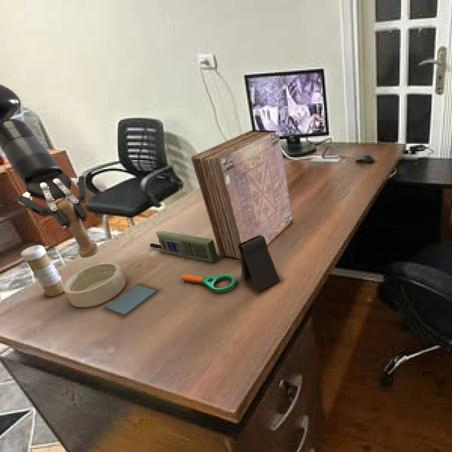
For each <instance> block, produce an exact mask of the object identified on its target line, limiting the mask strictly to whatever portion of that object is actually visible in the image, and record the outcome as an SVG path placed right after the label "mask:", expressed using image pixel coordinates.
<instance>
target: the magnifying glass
mask: <svg viewBox="0 0 452 452" xmlns="http://www.w3.org/2000/svg"><path fill="white" fill-rule="evenodd" d="M227 279H228V280H230V281H231V282H230V284H228V285H227V286H224V287H220V288H218V287H215V286H214V285H215V284H216V283H217V282H219V281H222V280H227ZM181 280H182V281H185V282H190V283H196V284H201V285H204V286H206V288H208V289H209V290H210V291H212V292H213V293H215V294H224V293H227V292H230V291H232V290H233V289H235V287H236V286H237V281H236V280H237V279H236V277H235V276H234V275H232V274H228V273H225V274H216V275H210V276H201V275H196V274H189V273H184V274H183V275H182V276H181Z"/></svg>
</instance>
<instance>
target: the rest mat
mask: <svg viewBox="0 0 452 452" xmlns="http://www.w3.org/2000/svg"><path fill="white" fill-rule="evenodd" d="M156 293H157V290H155V289H152V288H149V287H145V286H143V285H140V284H137V285H136V286H134V287H133V288H131V289H130V290H128V291H126V292H125V293H124V294H122V295H121V296H119V298H117V299H116V300H114V301H113V302H111V303H110V304H108V305H107V306H105V308H106V309H107V310H109V311H113V312H115V313H117V314H121V315H123V316H127V315H128V314H129V313H130V312H132V311H133V310H135V309H137V307H139V306H140V305H142V304H143V303H144V302H145V301H147V300H148V299H149V298H151V297H152V296H153V295H155V294H156Z"/></svg>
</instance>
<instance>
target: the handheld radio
mask: <svg viewBox="0 0 452 452" xmlns="http://www.w3.org/2000/svg"><path fill="white" fill-rule="evenodd" d="M155 234H156V237H157V238H158V243H159V244H158V243H155V242H154V243H153V242H151V243H150V244H149V247H150V248H153V249H157V250H162V251H161V252H162V253H164V254H169V255H174V256H177V257H178V256H179V257H184V258H188V259H189V258H190V259H194V260H199V261H204V262H209V263H216V262H217V261H218V260H219V255H218V253H217V249H216V244H215V241H214V239H213V238H208V237H202V236H197V235H196V236H195V235H190V234H182V233H176V232H171V231H166V230H159V231H155Z"/></svg>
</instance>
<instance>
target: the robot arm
mask: <svg viewBox="0 0 452 452" xmlns="http://www.w3.org/2000/svg"><path fill="white" fill-rule="evenodd" d="M21 107H22V101H21V98H20V97H19V96H18V95H17V93H16V92H14V90H12V89H10V88H9V87H7V86H5V85H3V84H0V149H1V151H2V152H3V153H4V156H5V158H6V160H7V161H8V163H9V165H10V166H11V169H13V170H14V172H15V173H16V174H17V176H18V177H19V178H20V180H21V181H22V183H23V184H24V185H25V192H24V193H23V194H18V195H16V200H17V203H18V205H20V206H21V207H23V208H25V209H27V210H29V211H31V212H33V213H35V214H36V215H38V216H40V217H43V218H47V217H49V216H51V217H54V220H56V221H57V223H58V224H59V226H60V227H65V228H66V229H68V228H69V227H70V224H69V222H68V220H67V219H66V218H65V216H64V215H63V213H62V212H61V211H60V210H59V209H58V205H57V204H56V201H58V200H60V199H63V200H69V201H71V202H72V203H73V206H74V208H75V210H76V212H77V214H78V216H79V218H80V220H81V222H82V223H83V222H86V221H87V218H88V214H87V211H86V210H85V209H84V207H83V206H82V204H86V203H87V189H86V178H85V176H83V175H79V176H78V177H72V176H70V175H68V174H66V173H65V172H64V171H63V169H62V168H61V167H60V165H59V164H58V162H57V161H56V160H55V158H54V157H53V155H52V153H50V151H49V150H48V148H47V147H46V146H45V145H44V144H43V143H42V142H41V140H39V138H38V136H37V135H36V134H35V132H34V131H33V130H32V128H31V127H30V126H29V124H27V123H26V122H24V121H23V120H21V119H17V118H16V119H15V118H13V116H14V115H15V114H16V113H17V112H18V111H19V110H20V109H21ZM72 185H74V187H75V188H77V189H78V196H77V197H76V195H74V193H73V192H72V191H71V187H72ZM33 198H36V199H39V200H41V201H43V202H45V203H46V205H47V207H46V206H43V205H42V204H39V203H38V202H35V201H34V199H33Z"/></svg>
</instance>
